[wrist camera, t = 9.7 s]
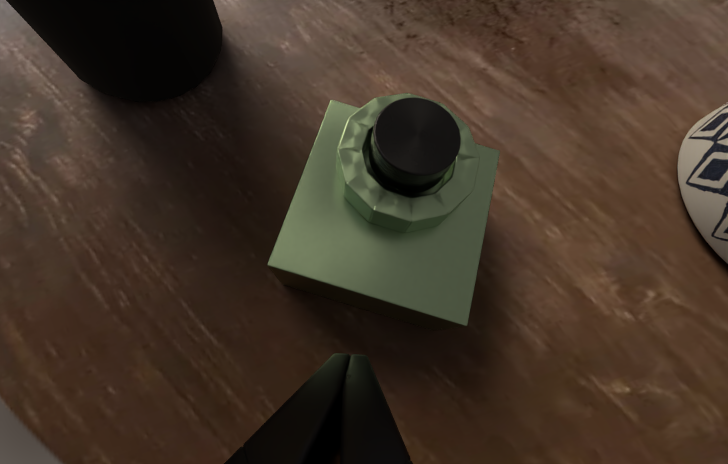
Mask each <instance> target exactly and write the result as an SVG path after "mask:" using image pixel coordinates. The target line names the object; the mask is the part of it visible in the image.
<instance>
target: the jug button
mask: <svg viewBox="0 0 728 464" xmlns="http://www.w3.org/2000/svg"><path fill="white" fill-rule="evenodd" d="M460 145H461V137H460V131H459V128H458V125H457V123H456V121H455V120H454V118H453V117H452V116H451V114H450V113H449V112H448V111H447V110H446V109H444V108H443V107H442V106H440V105H439V104H437V103H435V102H433V101H430V100H427V99H423V98H417V97H410V98H403V99H399V100H396V101H394V102H392V103H390V104H389V105H387V106H386V107H385V108H384V109H383V110H382V111H381V112H380V113H379V114H378V116H377V118H376V120H375V123H374V127H373V132H372V137H371V142H370V147H369V161H370V165H371V168H372V170H373V172H374V173H375V175H376V176H377V177H378V178H379V180H380V181H381V182H383V183H384V184H385V185H387V186H388V187H390V188H392V189H394V190H396V191H399V192H404V193H419V192H423V191H426V190H429V189H431V188H433V187H434V186H435V185H437V184H438V183H439V182H440V181H441V179H442V178H443V177H444V175H445V174H446V172H447V171H448V169H449V168H450V166H451V165H452V163H453V162H454V160H455V159H456V157H457V155H458V153H459V150H460Z"/></svg>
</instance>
